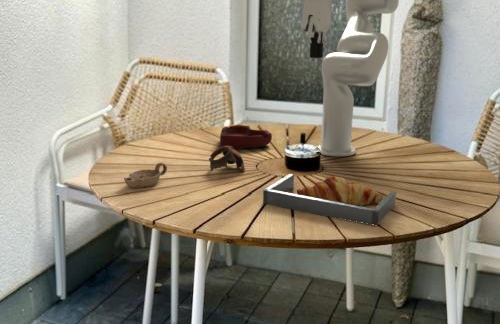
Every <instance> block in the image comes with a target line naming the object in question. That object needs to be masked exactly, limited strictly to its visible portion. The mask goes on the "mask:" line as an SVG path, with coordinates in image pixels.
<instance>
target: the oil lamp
mask: <svg viewBox="0 0 500 324" xmlns="http://www.w3.org/2000/svg"><path fill="white" fill-rule="evenodd" d="M161 166H162V171H160V168H161ZM167 171H168V167H167V165H166V163H164V162H158V163H157V164H156V165H155V168H154V169H140V170H136V171H134V172H133V173H129V174H128V177H123V180H124V182H125V184H126V186H128V187H129V188H134V189H139V188H140V189H142V188H149V187H152V186H155V185H156V184H158V182H159V180H160V177H161V176H164V175H165V174H166V173H167Z"/></svg>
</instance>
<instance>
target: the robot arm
mask: <svg viewBox="0 0 500 324" xmlns="http://www.w3.org/2000/svg"><path fill="white" fill-rule="evenodd" d="M399 3H400V1H399V0H345V12H346V22H347V25H346V27H345V28H344V31H343V33H342V35H341V37H340V38H339V41H338V43H337V47H336V52H332V53H328V54H327V55H325V57H324V58H323V55H324V53H323V52H324V42H325V36H326V35H327V32H328V31H329V30H330V29H331V23H332V0H304V2H303V9H302V11H303V12H302V20H301V21H302V23H301V30H302V31H303V33H304V32H305V33H307V37H308V38H309V44H310V45H309V46H310V47H309V58H312V59H322V58H323V60H322V61H321V75H322V84H323V86H322V87H323V97H322V120H321V122H322V123H321V137H320V139H321V141H320V142H321V143H320V144H318V145H317V146H316V147H318V148H319V149H320V151H321V154H320V155H324V156H327V157H348V156H352V155H354V154H356V148H355V147H354V146H352V139H353V136H352V133H353V132H352V131H353V117H354V104H355V102H354V101H355V98H354V96H353V95H354V94H353V92H352V90H351V89H350V87H349V86H358V87H370V86H372V85H374V84H375V82H376V81H377V79H378V78H379V75H380V74H381V70H382V68H383V66H384V64H385V61H386V59H387V57H388V54H389V40H388V37H387V36H386V34H383V33H381V32H377V31H376V32H375V31H373V30H374V28H373V24H372V22H371V21H370V19H369V18H368V17H367V16H366V15H365V14H381V15H382V14H385V15H386V14H387V15H388V14H392V13H394V12H395V11H396V10H397V8H398V7H399Z"/></svg>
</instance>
